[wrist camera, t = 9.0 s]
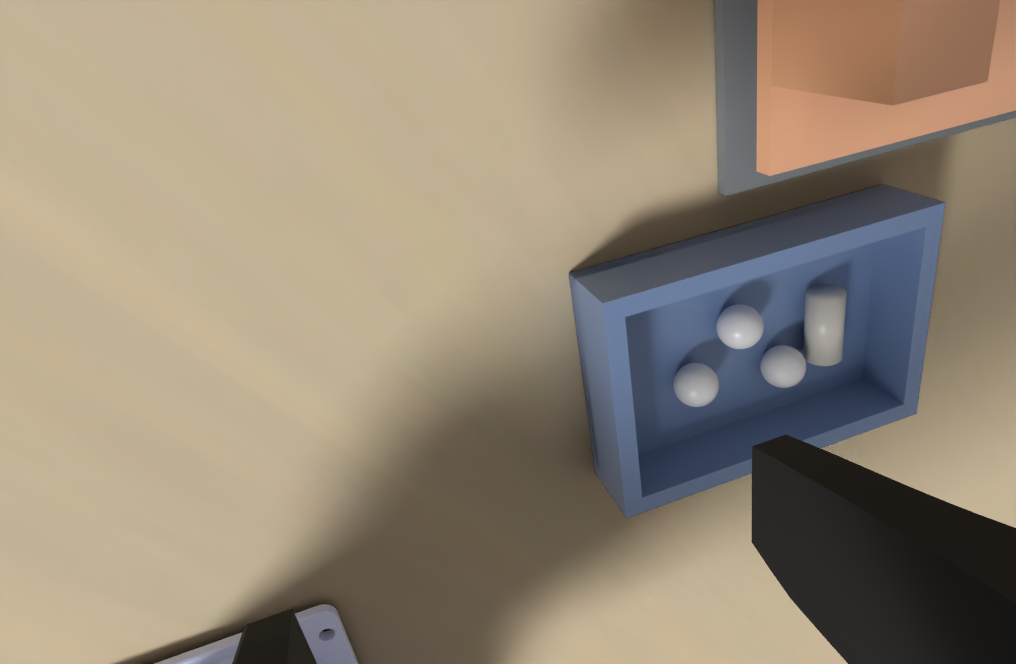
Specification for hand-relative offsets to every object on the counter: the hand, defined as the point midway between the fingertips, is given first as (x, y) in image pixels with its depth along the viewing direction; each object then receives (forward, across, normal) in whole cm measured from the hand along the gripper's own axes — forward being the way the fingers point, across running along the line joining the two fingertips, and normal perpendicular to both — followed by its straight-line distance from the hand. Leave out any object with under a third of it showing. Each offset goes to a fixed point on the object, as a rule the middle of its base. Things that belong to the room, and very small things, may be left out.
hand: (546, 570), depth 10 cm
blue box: (+10, -10, +4) cm, 15 cm away
